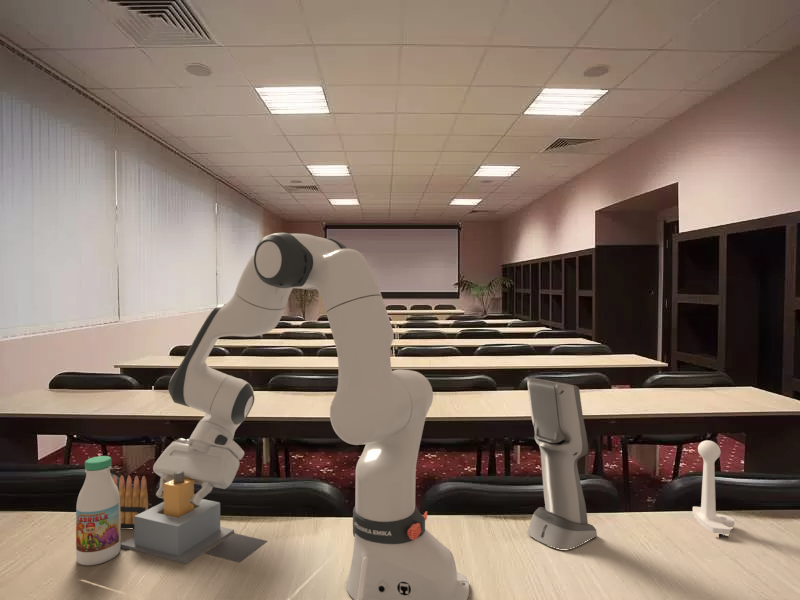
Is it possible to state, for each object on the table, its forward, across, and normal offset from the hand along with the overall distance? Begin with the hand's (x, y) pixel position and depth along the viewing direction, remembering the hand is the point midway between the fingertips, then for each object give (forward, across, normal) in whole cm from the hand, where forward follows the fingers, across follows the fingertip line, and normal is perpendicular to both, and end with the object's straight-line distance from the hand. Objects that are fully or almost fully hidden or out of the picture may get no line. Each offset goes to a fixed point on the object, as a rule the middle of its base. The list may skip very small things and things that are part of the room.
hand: (176, 500), depth 106 cm
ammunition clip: (+6, -16, +7) cm, 19 cm away
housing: (+6, 0, +7) cm, 9 cm away
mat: (+4, +14, +8) cm, 17 cm away
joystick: (-30, +110, +43) cm, 122 cm away
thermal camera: (-18, +77, +31) cm, 85 cm away
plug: (+5, 0, +6) cm, 8 cm away
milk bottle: (+14, -10, -1) cm, 17 cm away
